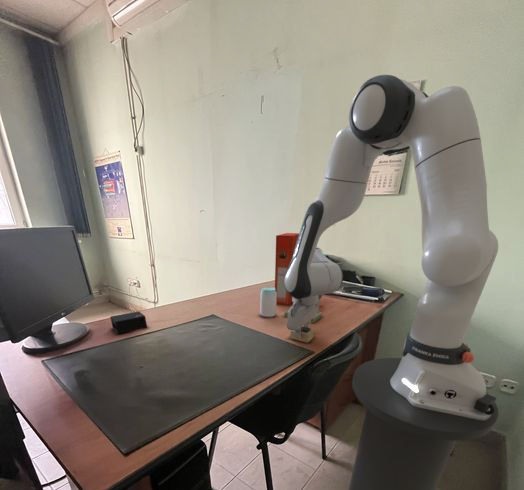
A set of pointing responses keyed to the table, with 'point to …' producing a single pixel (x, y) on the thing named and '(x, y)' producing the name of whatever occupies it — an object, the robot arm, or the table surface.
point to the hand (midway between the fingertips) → (302, 333)
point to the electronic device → (128, 322)
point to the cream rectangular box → (303, 334)
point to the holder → (311, 319)
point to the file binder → (283, 264)
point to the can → (268, 302)
